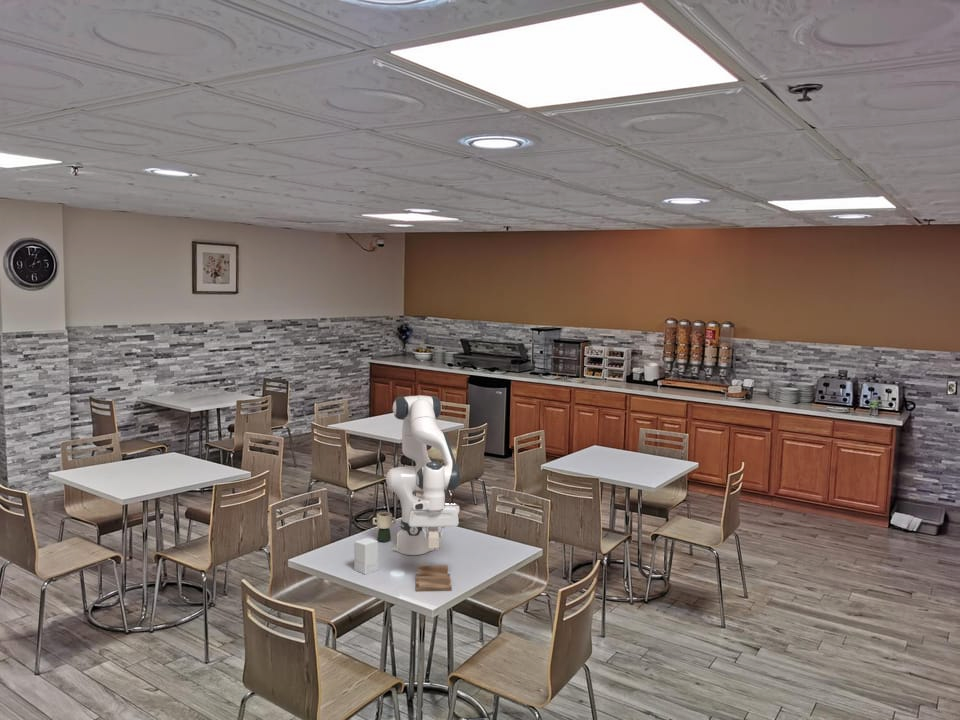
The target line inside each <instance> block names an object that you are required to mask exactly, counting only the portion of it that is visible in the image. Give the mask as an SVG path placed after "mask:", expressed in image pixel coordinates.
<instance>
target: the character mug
mask: <svg viewBox="0 0 960 720" xmlns="http://www.w3.org/2000/svg"><path fill="white" fill-rule="evenodd" d="M375 520H376V521H375ZM396 523H397V518H396V517H394V516H393V514H392V512H389V511H380V512H378V513H376V517H373V518H372V525H376V527H377V529H378V531H377V532H378V533H377V541H378V542H389V541H390V540H391V529H390V528H392V526H393V525H395V524H396Z"/></svg>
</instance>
